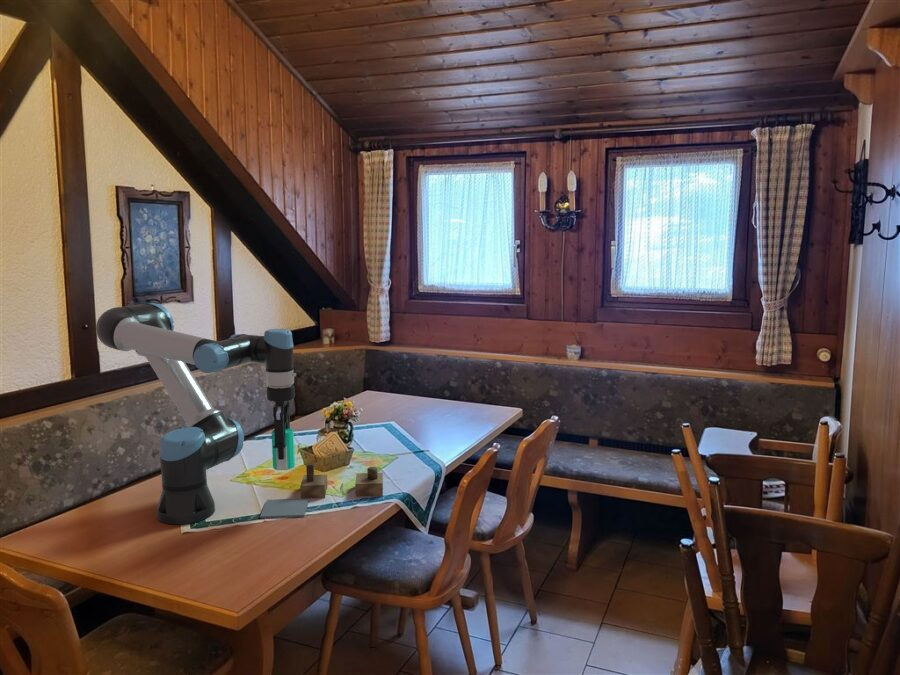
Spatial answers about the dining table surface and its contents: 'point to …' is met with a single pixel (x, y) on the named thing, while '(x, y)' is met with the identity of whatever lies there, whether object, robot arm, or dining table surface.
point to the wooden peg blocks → (363, 486)
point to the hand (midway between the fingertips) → (283, 465)
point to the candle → (290, 449)
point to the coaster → (285, 508)
